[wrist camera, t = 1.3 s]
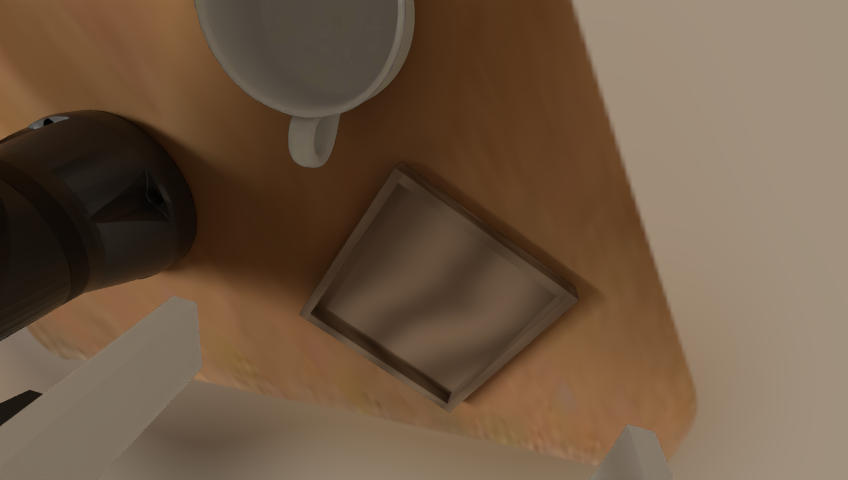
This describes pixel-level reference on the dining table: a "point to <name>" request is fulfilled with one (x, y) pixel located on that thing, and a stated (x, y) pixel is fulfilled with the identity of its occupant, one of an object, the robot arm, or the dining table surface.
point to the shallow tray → (434, 292)
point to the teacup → (309, 58)
